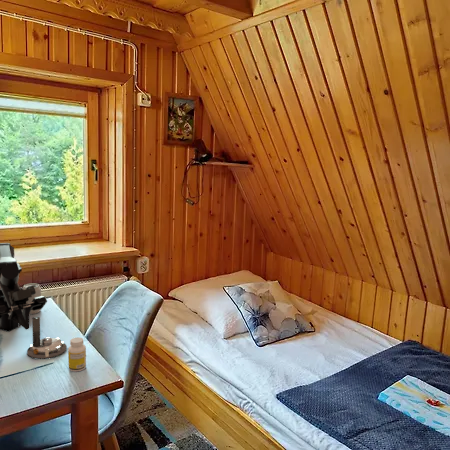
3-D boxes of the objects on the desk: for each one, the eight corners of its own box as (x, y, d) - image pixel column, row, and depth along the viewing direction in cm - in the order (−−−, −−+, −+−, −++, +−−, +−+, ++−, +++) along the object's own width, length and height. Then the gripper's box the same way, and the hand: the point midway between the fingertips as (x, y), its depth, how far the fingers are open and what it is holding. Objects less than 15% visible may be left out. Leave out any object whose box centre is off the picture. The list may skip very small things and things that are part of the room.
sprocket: (23, 351, 147) (22, 319, 145) (45, 339, 157) (44, 309, 155) (49, 357, 143) (48, 324, 142) (70, 344, 154) (70, 314, 152)
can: (44, 312, 185) (43, 285, 183) (26, 316, 180) (26, 288, 178) (37, 307, 190) (36, 281, 188) (19, 311, 185) (18, 284, 183)
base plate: (18, 354, 146) (18, 344, 146) (45, 340, 158) (44, 330, 158) (49, 362, 142) (49, 351, 142) (74, 346, 154) (74, 336, 154)
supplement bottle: (73, 363, 143) (72, 335, 141) (88, 364, 142) (88, 337, 140) (65, 371, 137) (65, 342, 136) (81, 372, 137) (81, 344, 135)
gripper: (-9, 285, 144) (8, 325, 139) (44, 274, 159) (60, 310, 154) (-18, 301, 150) (-3, 340, 145) (33, 290, 165) (49, 325, 160)
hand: (27, 328), depth 151 cm, fingers closed
